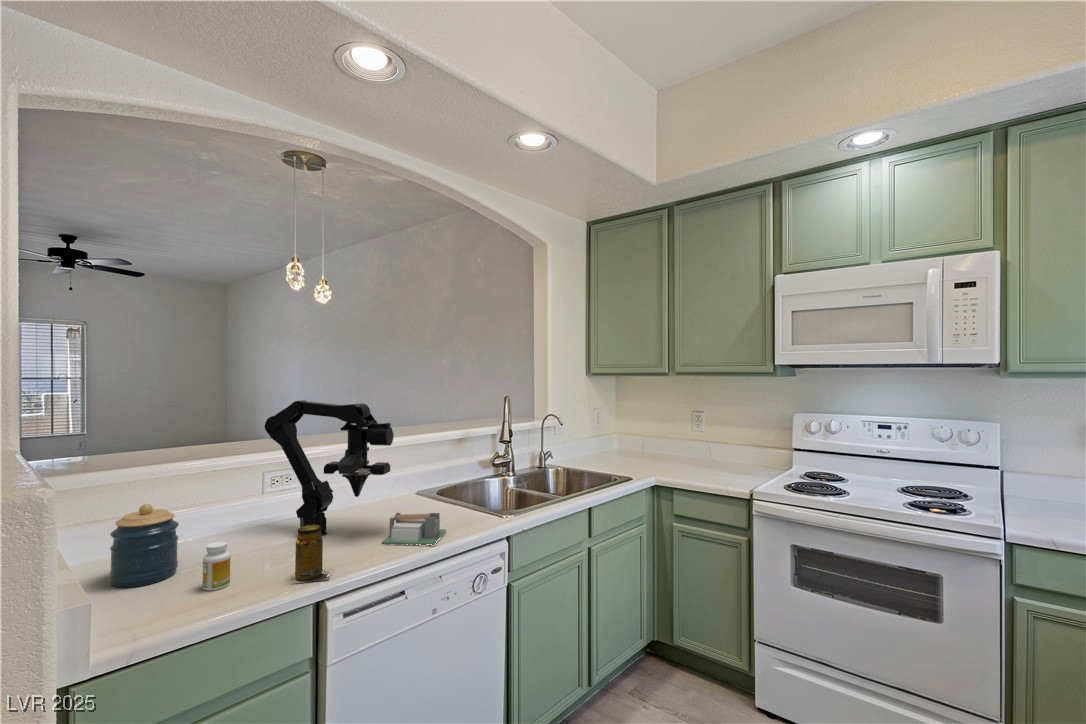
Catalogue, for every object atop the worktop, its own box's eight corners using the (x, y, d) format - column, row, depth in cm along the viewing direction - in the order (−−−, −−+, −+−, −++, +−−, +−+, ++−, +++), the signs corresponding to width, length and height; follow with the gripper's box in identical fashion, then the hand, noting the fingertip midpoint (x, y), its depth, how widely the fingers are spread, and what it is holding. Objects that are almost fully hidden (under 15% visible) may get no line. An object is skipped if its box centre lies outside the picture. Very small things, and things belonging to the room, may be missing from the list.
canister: (107, 576, 122) (108, 503, 122) (172, 562, 131) (174, 494, 131) (112, 594, 113) (113, 515, 113) (182, 577, 122) (183, 504, 122)
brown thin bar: (391, 517, 150) (428, 516, 149) (395, 514, 153) (432, 513, 153) (391, 520, 150) (429, 519, 149) (395, 517, 153) (432, 516, 153)
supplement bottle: (234, 581, 120) (235, 540, 120) (221, 591, 114) (221, 548, 115) (211, 581, 120) (212, 540, 120) (197, 591, 114) (197, 548, 114)
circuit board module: (381, 544, 145) (381, 520, 145) (398, 530, 158) (398, 508, 158) (433, 546, 144) (434, 521, 144) (446, 531, 157) (446, 509, 157)
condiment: (297, 572, 125) (297, 524, 126) (333, 569, 127) (334, 521, 128) (290, 584, 118) (290, 533, 118) (328, 581, 120) (329, 530, 121)
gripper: (314, 448, 146) (313, 502, 146) (376, 449, 144) (375, 504, 144) (333, 443, 157) (332, 493, 157) (391, 444, 155) (390, 494, 155)
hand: (357, 496), depth 153 cm, fingers closed
